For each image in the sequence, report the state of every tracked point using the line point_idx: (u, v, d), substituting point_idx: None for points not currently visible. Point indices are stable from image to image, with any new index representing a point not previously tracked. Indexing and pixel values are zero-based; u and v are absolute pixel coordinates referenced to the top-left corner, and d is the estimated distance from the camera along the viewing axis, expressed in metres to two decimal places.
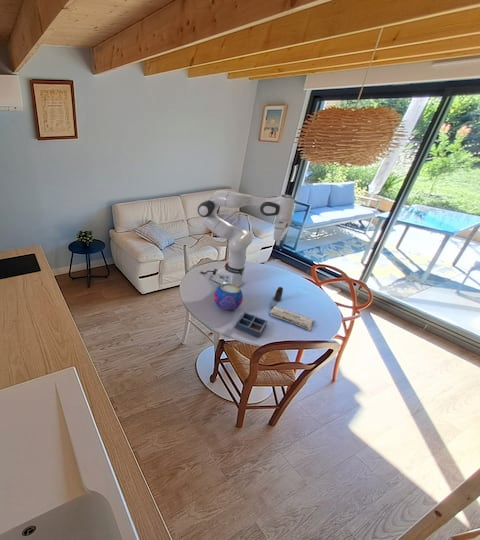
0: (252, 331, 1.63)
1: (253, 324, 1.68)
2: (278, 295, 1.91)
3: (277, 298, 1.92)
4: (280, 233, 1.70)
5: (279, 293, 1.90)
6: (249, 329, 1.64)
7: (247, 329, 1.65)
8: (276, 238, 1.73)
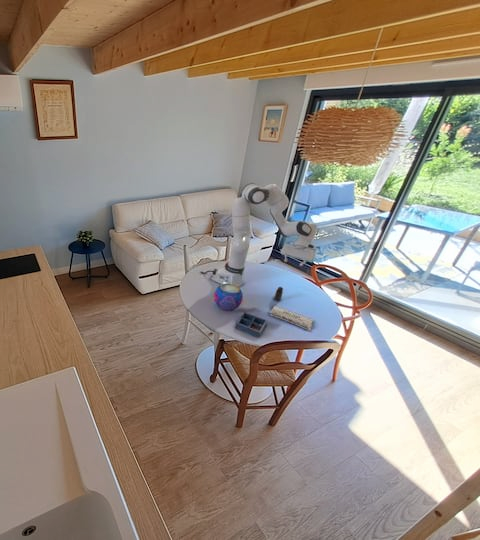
0: (252, 331, 1.63)
1: (253, 324, 1.68)
2: (278, 295, 1.91)
3: (277, 298, 1.92)
4: (315, 256, 1.84)
5: (279, 293, 1.90)
6: (249, 329, 1.64)
7: (247, 329, 1.65)
8: (313, 259, 1.83)
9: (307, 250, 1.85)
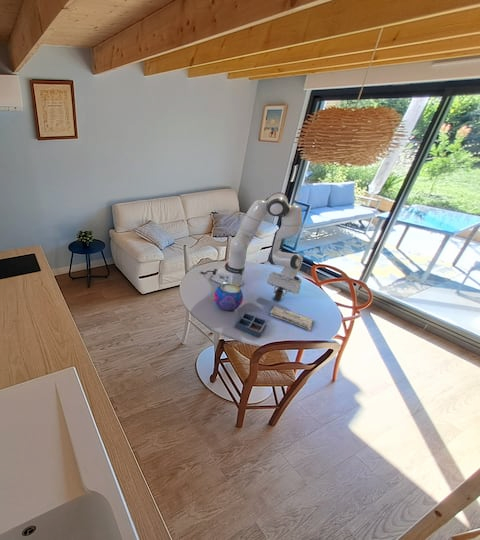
0: (252, 331, 1.63)
1: (253, 324, 1.68)
2: (278, 295, 1.91)
3: (277, 298, 1.92)
4: None
5: (279, 293, 1.90)
6: (249, 329, 1.64)
7: (247, 329, 1.65)
8: (298, 292, 1.86)
9: (293, 282, 1.88)
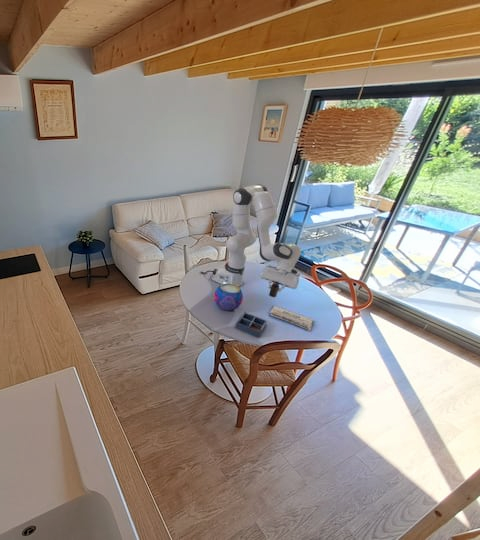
0: (252, 331, 1.63)
1: (253, 324, 1.68)
2: (273, 291, 1.68)
3: (272, 294, 1.69)
4: (298, 282, 1.65)
5: (275, 288, 1.67)
6: (249, 329, 1.64)
7: (247, 329, 1.65)
8: (296, 287, 1.63)
9: (290, 276, 1.66)
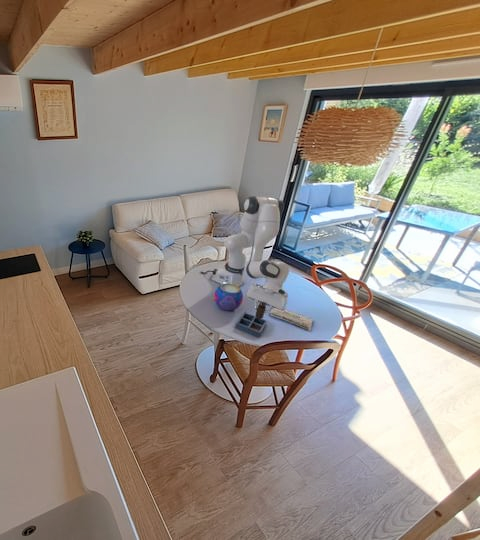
0: (252, 331, 1.63)
1: (253, 324, 1.68)
2: (260, 312, 1.57)
3: (259, 315, 1.58)
4: (286, 303, 1.54)
5: (261, 309, 1.56)
6: (249, 329, 1.64)
7: (247, 329, 1.65)
8: (284, 308, 1.52)
9: (277, 296, 1.54)
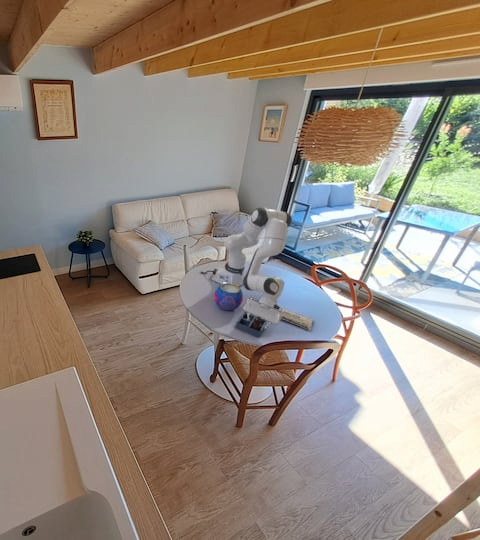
0: (252, 331, 1.63)
1: None
2: (256, 326, 1.62)
3: None
4: None
5: (257, 324, 1.61)
6: (249, 329, 1.64)
7: (247, 329, 1.65)
8: None
9: (272, 311, 1.59)
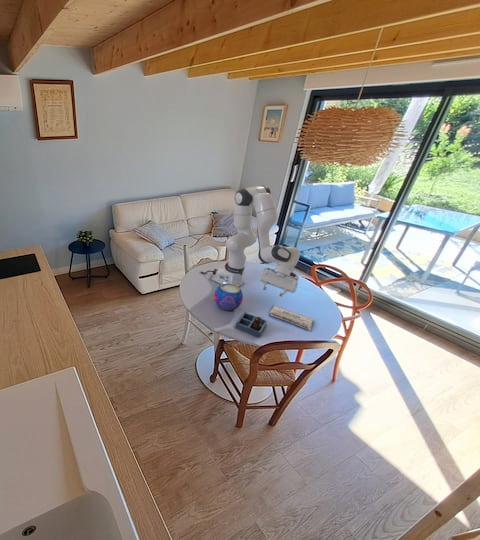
0: (252, 331, 1.63)
1: None
2: (256, 326, 1.62)
3: None
4: None
5: (257, 324, 1.61)
6: (249, 329, 1.64)
7: (247, 329, 1.65)
8: (295, 290, 1.61)
9: (288, 279, 1.63)
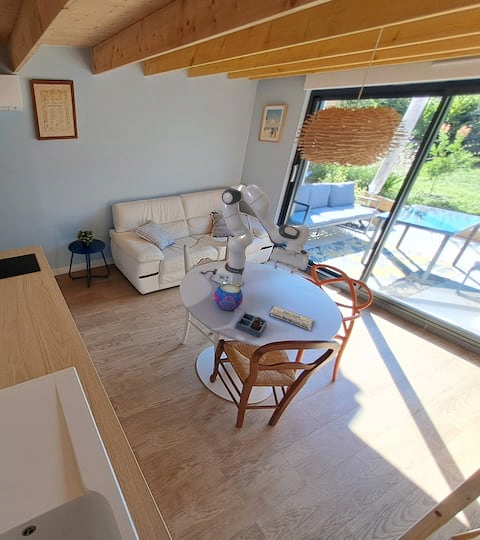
0: (252, 331, 1.63)
1: None
2: (256, 326, 1.62)
3: None
4: None
5: (257, 324, 1.61)
6: (249, 329, 1.64)
7: (247, 329, 1.65)
8: (306, 267, 1.63)
9: (299, 256, 1.65)
